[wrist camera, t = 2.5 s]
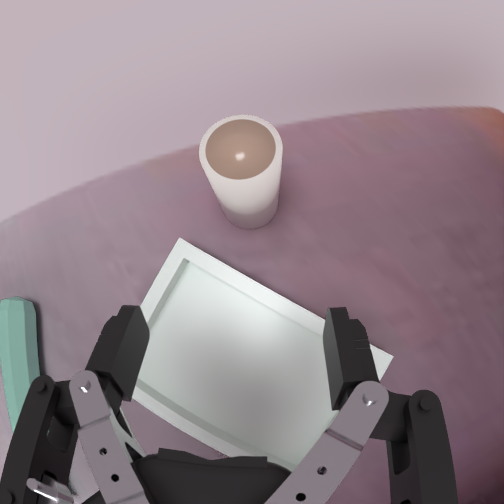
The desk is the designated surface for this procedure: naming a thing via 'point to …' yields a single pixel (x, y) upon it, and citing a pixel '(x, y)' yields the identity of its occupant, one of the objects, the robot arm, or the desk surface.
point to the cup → (244, 168)
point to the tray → (235, 361)
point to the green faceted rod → (17, 352)
